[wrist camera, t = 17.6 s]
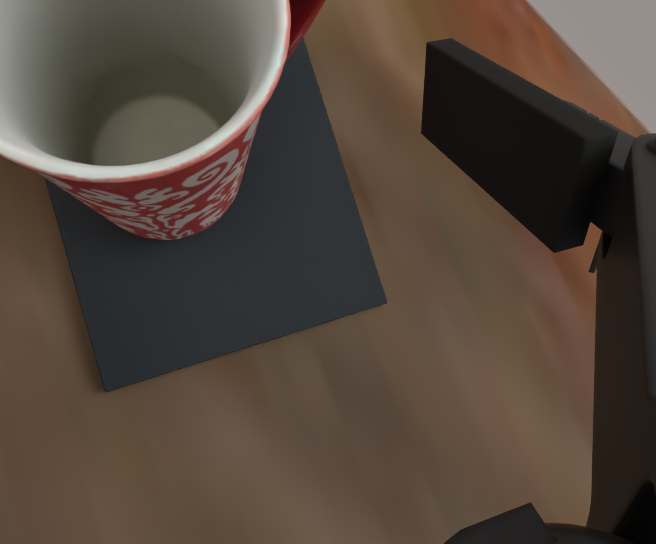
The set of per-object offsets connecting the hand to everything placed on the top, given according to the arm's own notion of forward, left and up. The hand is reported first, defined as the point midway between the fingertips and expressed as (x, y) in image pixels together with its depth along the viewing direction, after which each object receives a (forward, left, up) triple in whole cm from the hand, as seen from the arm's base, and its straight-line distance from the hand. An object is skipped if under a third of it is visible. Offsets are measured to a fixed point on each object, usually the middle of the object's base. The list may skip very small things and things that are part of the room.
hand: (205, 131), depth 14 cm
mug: (-4, 0, -12) cm, 13 cm away
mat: (-4, 0, -13) cm, 13 cm away
